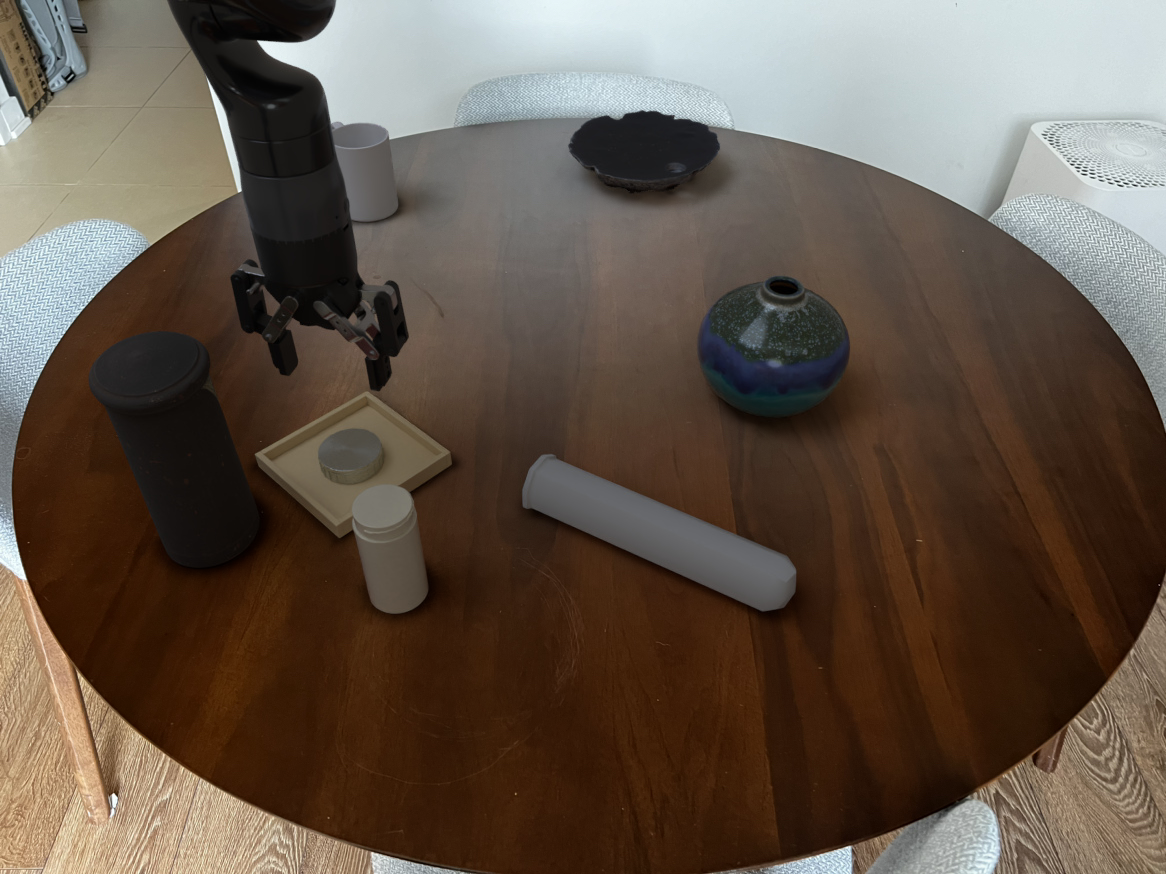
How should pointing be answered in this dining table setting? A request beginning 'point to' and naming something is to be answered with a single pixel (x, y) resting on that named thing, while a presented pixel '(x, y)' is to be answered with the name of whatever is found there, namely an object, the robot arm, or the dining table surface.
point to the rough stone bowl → (644, 150)
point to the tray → (331, 502)
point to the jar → (390, 548)
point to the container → (178, 445)
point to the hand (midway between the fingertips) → (334, 377)
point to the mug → (366, 170)
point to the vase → (773, 348)
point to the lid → (351, 456)
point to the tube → (660, 534)
